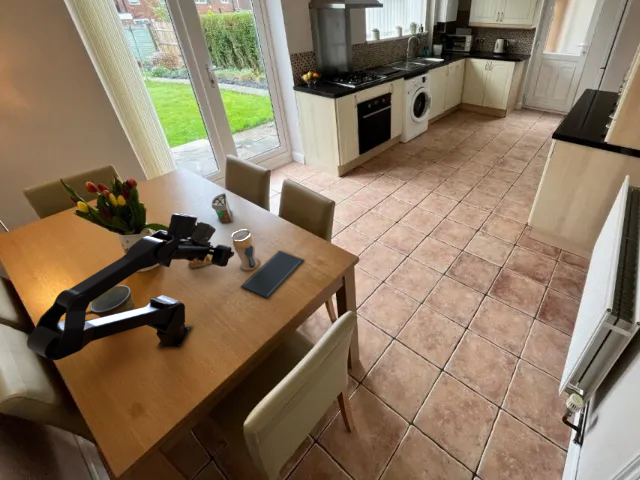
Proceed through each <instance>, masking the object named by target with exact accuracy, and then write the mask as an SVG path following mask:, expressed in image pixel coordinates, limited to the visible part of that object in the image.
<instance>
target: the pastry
mask: <svg viewBox="0 0 640 480" xmlns="http://www.w3.org/2000/svg"><path fill="white" fill-rule="evenodd" d="M211 251H213V250H211ZM212 256H213V255H210V254H208V255H207V256H206V257H205V259H204V261H200V260H197V259H194V260H193V261H188V262H187V263H188V264H187V265H188V267H189V268H191V269H192V268H193V269H195V268H203V267H206V266H208V265H211V264H212V262H211V259H212Z"/></svg>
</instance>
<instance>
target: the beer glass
mask: <svg viewBox="0 0 640 480" xmlns="http://www.w3.org/2000/svg"><path fill="white" fill-rule="evenodd" d="M230 237H231V242H232V246H233V250H234V252H235V254H236V255H237V256H238V258H239V260H240V262H241V269H242V270H244V271H247V272H248V271H253V270H255V269H256V268H257V267H258V265H259V260H258V259H257V257H256V246H255V241H254V238H253V235H252V232H251V231H250V230H249V229H239V230H237V231H235V232H233V233H232V235H231V236H230Z"/></svg>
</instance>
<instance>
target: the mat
mask: <svg viewBox="0 0 640 480" xmlns="http://www.w3.org/2000/svg"><path fill="white" fill-rule="evenodd" d="M303 262H304V259H302V258H300V257H296V256H294V255H292V254H290V253H286V252H283V251H281V250H279V251H278V252H277V253H276V254H274V255H273V256H272V257H271V258H270V259H269V260H268V261H267V262H265V263H264V264H263V265H262V266H261V267H260V268H259V269H258V270H257V271H256V272H255V273H254V274H253V275H251V276H250V277H249V278H248V279H247V280H246V281H245V282H244V283H243V284H242V285H241V288H244V289H247V290H248V291H250V292H253V293H255V294H257V295H259V296H261V297H264V298H266V299H269V298H270V297H271V295H273V293H275V291H276V290H278V288H280V286H281V285H282V284H284V282H285V281H286V280H287V279H288V278H289V277H290V276H291V275H292V274H293V272H295V270H297V269H298V267H299V266H300V265H301V264H302V263H303Z"/></svg>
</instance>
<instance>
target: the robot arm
mask: <svg viewBox="0 0 640 480" xmlns="http://www.w3.org/2000/svg"><path fill="white" fill-rule="evenodd" d="M198 218H199V217H198V216H195V215H191V214H186V213H180V212H177V213H172V214H171V217H170V222H169V225H168V228H167V230H163V229H159V230H157V231H156V232H154V233H152V234H150V235H149V236H148V235H147V236H143V237H142V238H140V239H139V240H137V241H136V242H135V243H134V244H132V245H131V246H130V247H129V248H128V250H127V252H126V253H125V254H124V255H123V256H122V257H120V258H118V259H116V260H114V261H113V262H112V263H110V264H108V265H107V266H105V267H103V268H102V269H100V270H99V271H97V272H95V273H93V274H92V275H90V276H89V277H87V278H86V279H84V280H82V281H80V282H79V283H77V284H75V285H74V286H72V287H70V288H67V289H64V290H62V291H61V292H60V293H59V294H58V295H57V296H56V298H55V300H54V302H53V303H52V305H51V306H50V307H49V308H48V309H47V310H46V311H45V312H44V313H43V314H41V316H40V317H39V319H38V321H37V323H36V325H35V327H34V329H33V331H32V332H31V333H30V335H29V336H28V337H27V339H26V347H27V348H28V349H29V350H31V351H32V352H34V353H36V354H38V355H40V356H42V357H44V358H46V359H48V360H50V361H60V360H62V359H64V358H67V357H69V356H72V355H73V354H76V353H79V352H80V351H82V350H83V349H84V348H85V347H86V346H88V344H90V343H91V342H94V341H98V340H102V339H105V338H108V337H111V336H115V335H118V334H121V333H124V332H128V331H132V330H134V329H137V328H141V327H144V326H148V327H150V328H153V329H155V330H156V331H157V332H155V334H156V336H157V338H158V339H159V343H158V344H157V345H158V346H157V347H158V348H180V347H181V346H182V344H183V343H184V341H185V339H186V337H187V336H188V334H189V332H190V331H191V329H192V327H191V326H186V324H185V323H186V305H185V304H184V303H183V302H181V301H179V300H177V299H175V298H172V297H169V296H166V295H163V294H161V295H160V296H157V297H150V300H149V303H147V305H146V306H144V307H140V308H136V309H135V310H131V311H127V312H123V313H119V314H115V315H111V316H106V317H102V318H101V317H99V318H98V317H97V318H93V319H94V320H90V321H85V320H86V316H87V315H86V312H87V311H88V310H87V309H88V308H89V307H90V303H91V302H92V301H93V300H95V299H96V298H98V297H99V296H101V295H102V294H104V293H105V292H107V291H108V290H110V289H111V288H113V287H115V286H118V285H119V284H121V283H122V282H123V281H125V280H127V279H128V278H130V277H131V276H133V275H134V274H136V273H137V272H139V271H141V270H144V269H148V268H152V267H155V266H156V265H160V266H163V267H165V268H170V267H171V263H172V261H175V260H177V261H178V260H185V261H188V262H189V261H193V260H194V259H197V260H200V261H204V259H205V257H206V256H207V255H208V254H210V255H213V256H212V259H211V262H212V263H211V264H212V265H214V266H217V267H221V268H226V267H227V266H228V265H229V264H228V263H229V260H230V259H231V258H232V257H234V256H235V254H236V251H233V250H232V246H228V245H225V244H220V243H219V244H217V245H216V246H215V247H214V245H213V244H212V242H211V241H210V240H211V239H212V237H213V235H214V234H215V233H216V230H217V229H216V228H215V227H213V226H212V225H211V224H209V223H205V222H203V221H200V222H198ZM211 244H212V245H211ZM211 250H212V251H211ZM64 315H65V316H64ZM63 316H64V320H61V318H62V317H63Z"/></svg>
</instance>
